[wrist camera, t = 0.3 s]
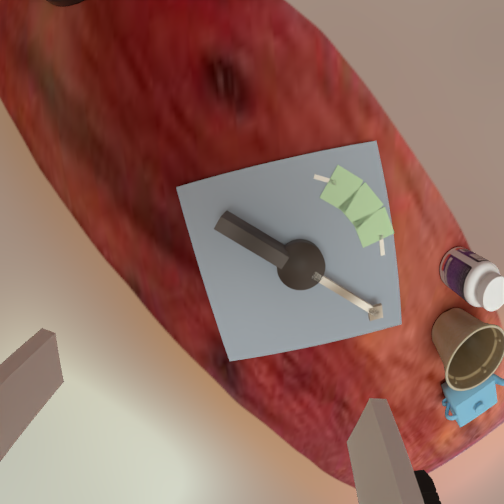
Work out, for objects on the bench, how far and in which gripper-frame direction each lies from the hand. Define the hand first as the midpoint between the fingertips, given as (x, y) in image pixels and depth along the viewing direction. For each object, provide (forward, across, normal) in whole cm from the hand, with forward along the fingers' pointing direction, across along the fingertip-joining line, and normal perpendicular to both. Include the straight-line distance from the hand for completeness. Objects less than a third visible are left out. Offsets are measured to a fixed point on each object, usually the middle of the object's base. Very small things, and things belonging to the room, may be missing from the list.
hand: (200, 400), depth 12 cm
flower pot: (+26, +29, -7) cm, 40 cm away
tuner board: (+26, +6, -1) cm, 27 cm away
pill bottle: (+26, +27, +2) cm, 37 cm away
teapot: (+26, +37, -15) cm, 48 cm away
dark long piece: (+24, +6, -1) cm, 25 cm away
